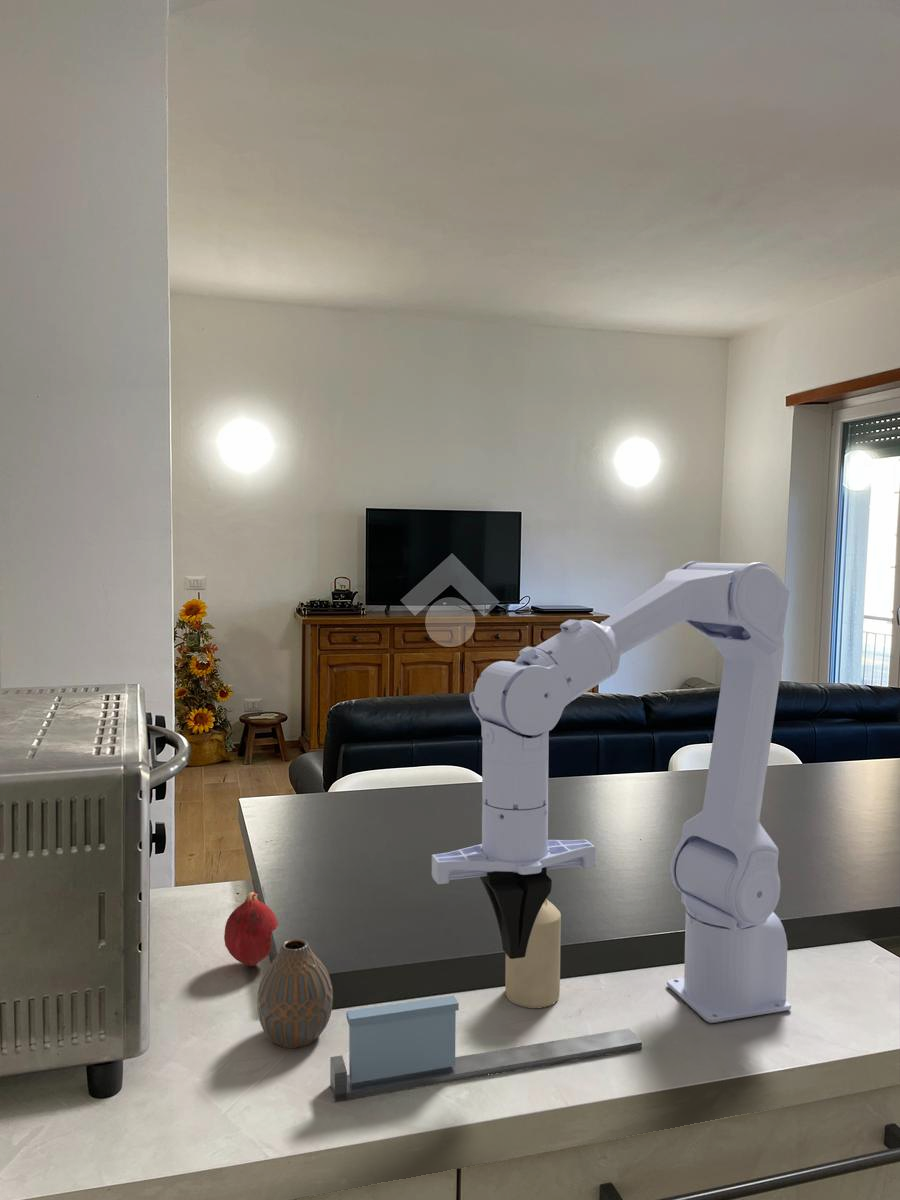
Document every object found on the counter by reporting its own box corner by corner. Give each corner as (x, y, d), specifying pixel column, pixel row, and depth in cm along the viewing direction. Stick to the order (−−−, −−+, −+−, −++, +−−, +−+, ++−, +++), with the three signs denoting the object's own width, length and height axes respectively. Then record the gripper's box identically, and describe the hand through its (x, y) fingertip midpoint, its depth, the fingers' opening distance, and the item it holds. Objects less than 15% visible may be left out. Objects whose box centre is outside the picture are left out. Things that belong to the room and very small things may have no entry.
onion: (279, 976, 92) (279, 902, 92) (223, 981, 91) (222, 906, 91) (278, 951, 98) (278, 881, 98) (225, 956, 97) (224, 885, 96)
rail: (629, 1034, 82) (629, 1009, 81) (641, 1048, 79) (642, 1023, 79) (330, 1084, 74) (330, 1057, 74) (334, 1101, 71) (334, 1073, 71)
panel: (453, 1057, 76) (453, 995, 76) (458, 1066, 75) (458, 1003, 75) (346, 1075, 74) (346, 1010, 73) (349, 1085, 72) (349, 1019, 72)
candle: (557, 1011, 86) (558, 912, 85) (501, 1005, 87) (502, 907, 86) (561, 984, 91) (562, 890, 90) (509, 979, 92) (510, 886, 91)
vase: (328, 1012, 85) (328, 924, 85) (336, 1052, 79) (336, 957, 78) (256, 1021, 84) (255, 931, 83) (258, 1062, 77) (257, 965, 76)
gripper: (447, 821, 70) (447, 986, 71) (612, 807, 74) (609, 963, 75) (425, 797, 77) (425, 948, 77) (576, 785, 81) (575, 928, 82)
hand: (513, 953), depth 77 cm, fingers closed
